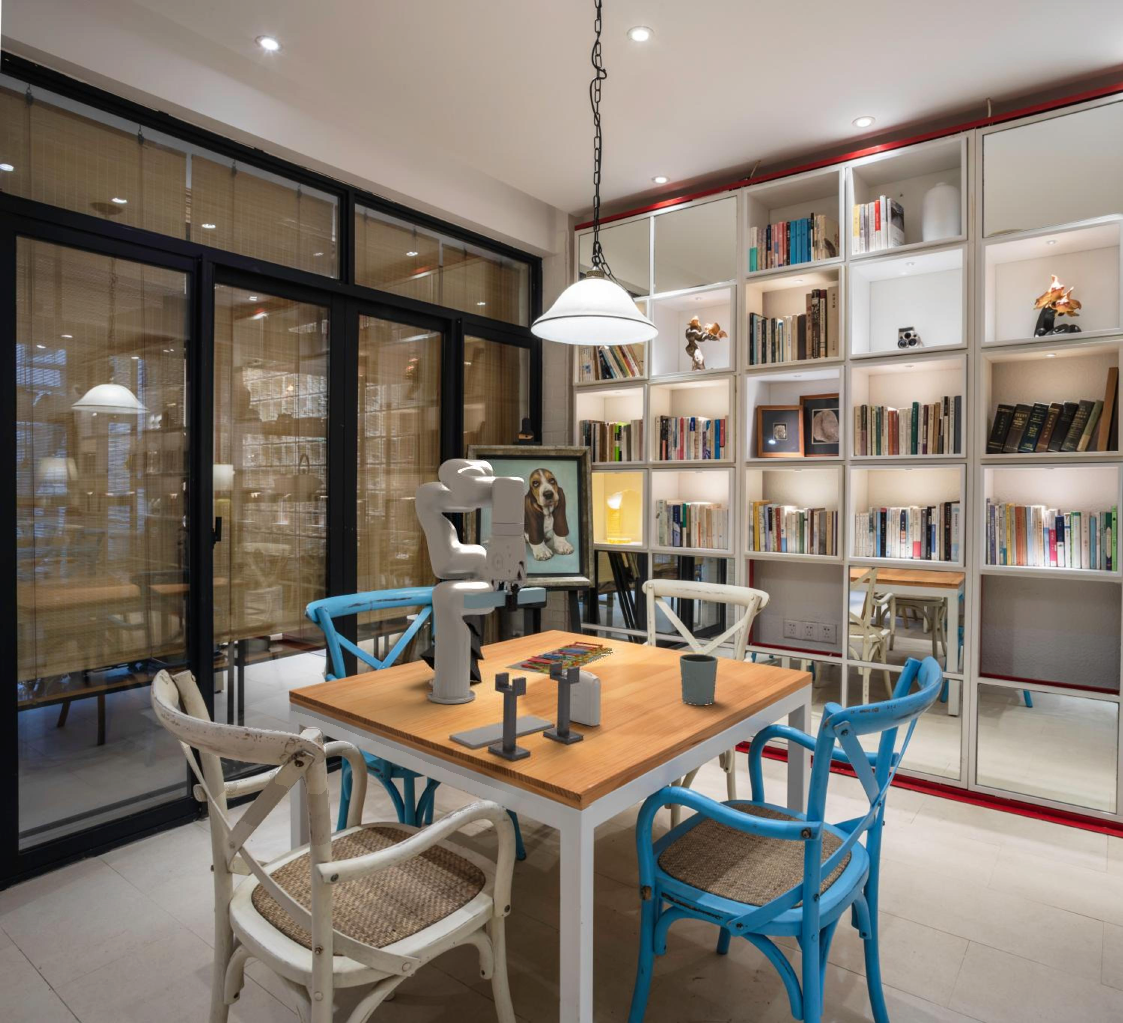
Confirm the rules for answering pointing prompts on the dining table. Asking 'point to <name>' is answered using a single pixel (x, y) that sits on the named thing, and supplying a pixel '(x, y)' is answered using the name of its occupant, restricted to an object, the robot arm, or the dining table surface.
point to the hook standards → (511, 692)
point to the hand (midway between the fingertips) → (506, 609)
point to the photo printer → (586, 699)
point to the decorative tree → (475, 650)
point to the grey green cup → (698, 678)
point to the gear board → (563, 658)
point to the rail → (502, 598)
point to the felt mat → (499, 732)
